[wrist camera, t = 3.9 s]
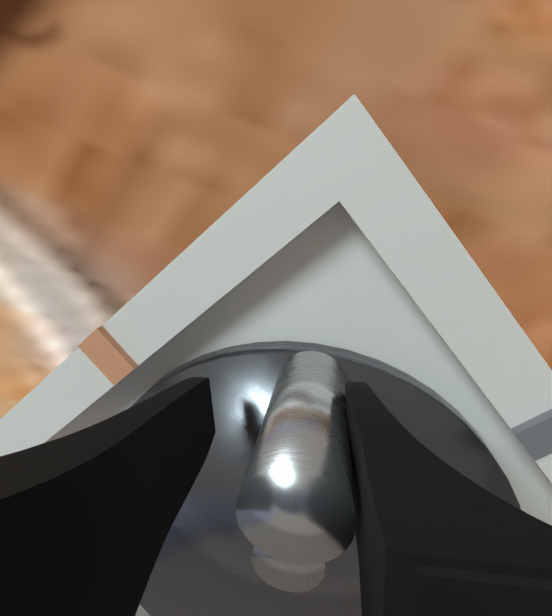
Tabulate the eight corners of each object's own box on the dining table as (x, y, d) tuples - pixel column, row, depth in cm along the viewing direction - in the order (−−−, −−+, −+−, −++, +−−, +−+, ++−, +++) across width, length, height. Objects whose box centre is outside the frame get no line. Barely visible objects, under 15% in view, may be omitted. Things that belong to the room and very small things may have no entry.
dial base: (267, 703, 22) (257, 780, 19) (-3, 435, 19) (-63, 476, 16) (681, 577, 15) (766, 668, 12) (350, 118, 12) (354, 90, 9)
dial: (453, 701, 17) (525, 1000, 11) (119, 613, 19) (13, 815, 13) (580, 375, 12) (879, 580, 5) (98, 307, 14) (-102, 392, 8)
